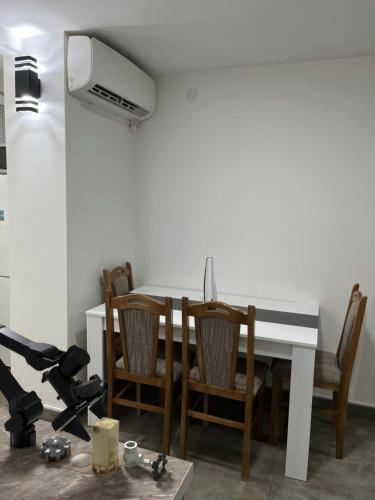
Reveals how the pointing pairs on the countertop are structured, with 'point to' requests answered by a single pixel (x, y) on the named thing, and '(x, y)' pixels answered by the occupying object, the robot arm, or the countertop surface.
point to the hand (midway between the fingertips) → (99, 432)
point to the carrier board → (80, 463)
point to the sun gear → (55, 449)
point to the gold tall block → (105, 445)
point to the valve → (143, 459)
